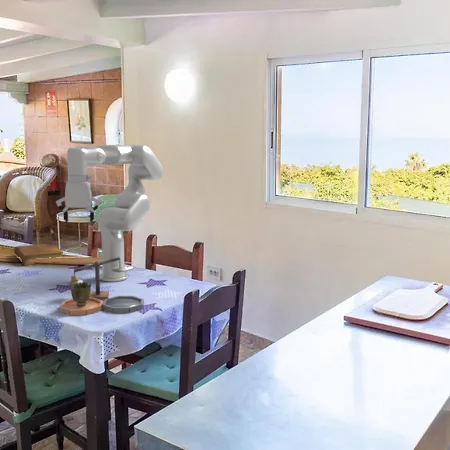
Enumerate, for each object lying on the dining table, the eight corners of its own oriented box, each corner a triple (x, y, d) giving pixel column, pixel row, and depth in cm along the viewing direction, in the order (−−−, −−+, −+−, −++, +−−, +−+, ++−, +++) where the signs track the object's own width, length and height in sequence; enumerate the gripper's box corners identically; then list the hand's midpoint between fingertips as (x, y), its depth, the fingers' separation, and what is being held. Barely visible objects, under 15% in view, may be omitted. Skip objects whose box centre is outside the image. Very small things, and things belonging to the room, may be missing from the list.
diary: (14, 257, 274) (14, 246, 273) (51, 253, 284) (51, 243, 283) (24, 267, 255) (23, 255, 254) (63, 262, 264) (63, 251, 263)
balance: (128, 293, 215) (127, 254, 213) (127, 299, 208) (127, 259, 205) (68, 294, 212) (67, 255, 209) (65, 301, 204) (64, 260, 201)
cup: (95, 305, 197) (95, 284, 195) (78, 310, 191) (78, 288, 190) (83, 301, 201) (83, 280, 200) (66, 305, 196) (66, 284, 194)
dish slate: (126, 297, 209) (126, 293, 209) (151, 306, 200) (151, 301, 200) (95, 306, 199) (95, 301, 198) (119, 315, 189) (119, 310, 189)
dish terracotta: (87, 299, 206) (87, 295, 206) (110, 308, 197) (110, 303, 197) (53, 308, 196) (53, 303, 195) (76, 317, 186) (75, 313, 186)
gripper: (101, 178, 216) (101, 220, 219) (56, 178, 213) (58, 220, 216) (99, 180, 209) (100, 223, 212) (53, 179, 206) (55, 223, 209)
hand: (79, 221), depth 214 cm, fingers open, 9 cm apart
